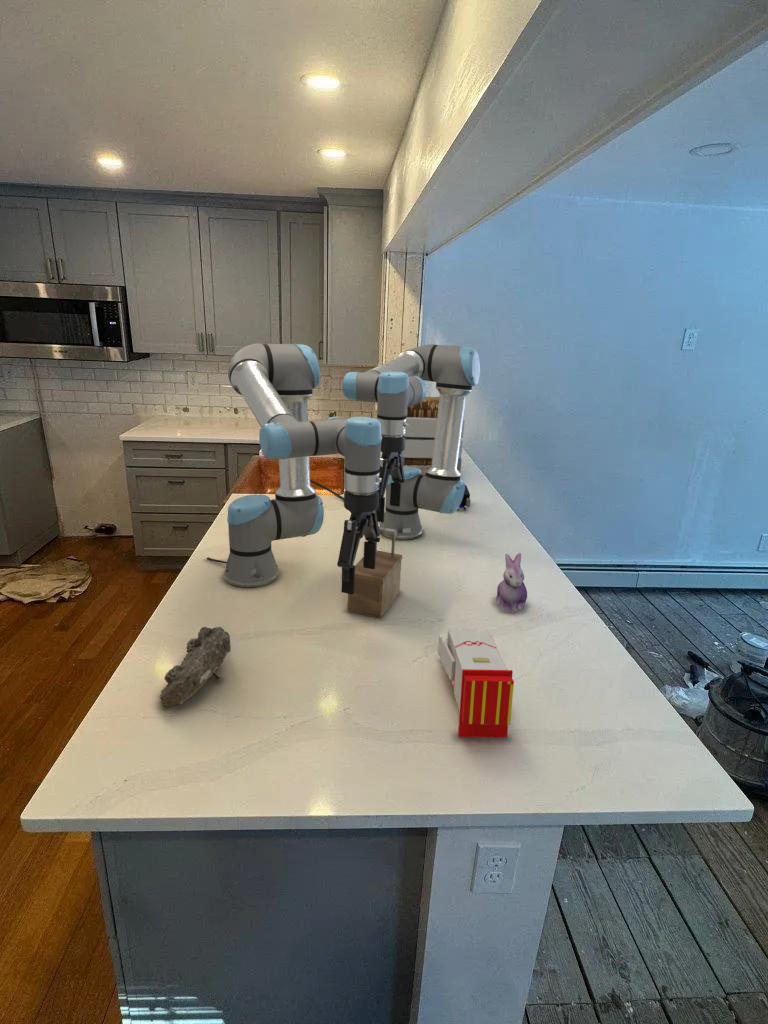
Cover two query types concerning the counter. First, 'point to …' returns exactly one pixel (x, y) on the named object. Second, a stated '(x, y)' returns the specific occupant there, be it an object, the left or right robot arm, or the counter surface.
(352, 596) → the chest
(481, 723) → the toy
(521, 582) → the figurine
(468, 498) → the figurine character
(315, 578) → the counter surface
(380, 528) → the lid
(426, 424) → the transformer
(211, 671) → the fossil
